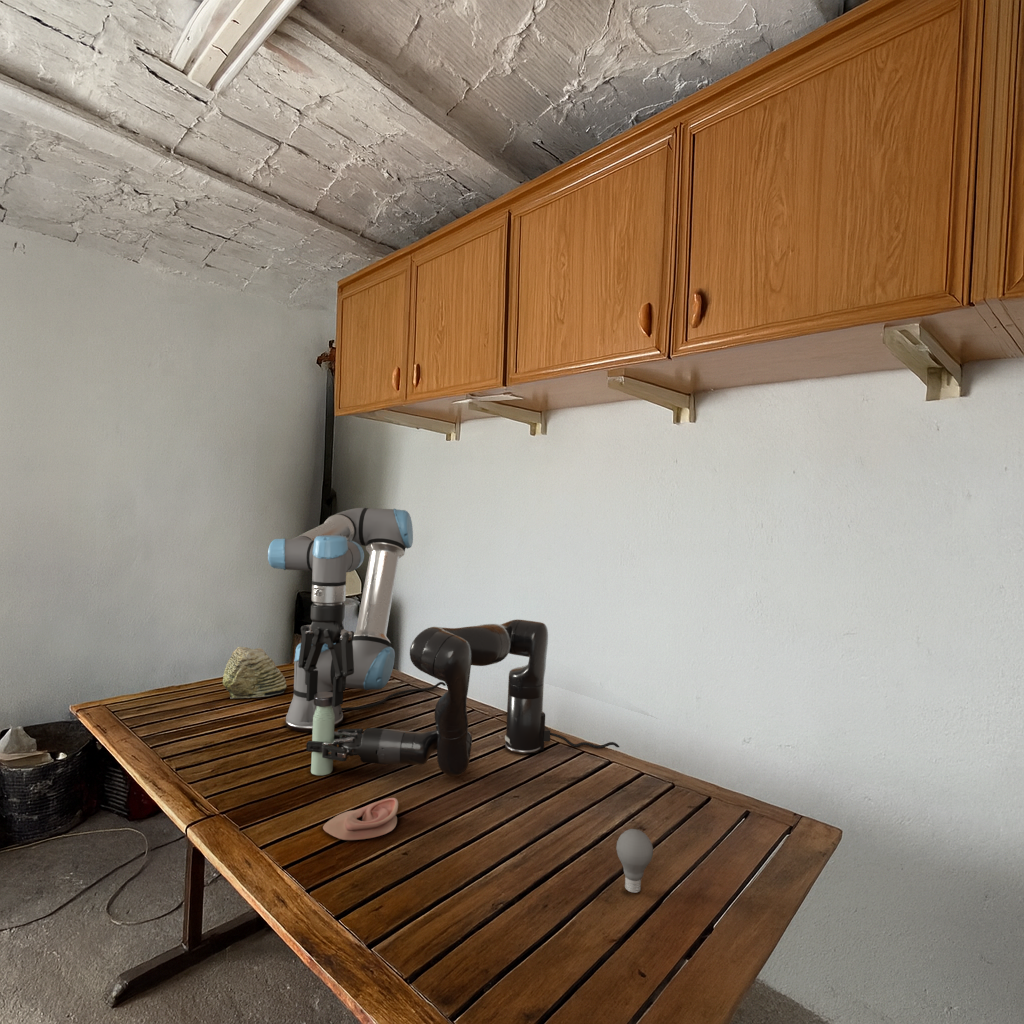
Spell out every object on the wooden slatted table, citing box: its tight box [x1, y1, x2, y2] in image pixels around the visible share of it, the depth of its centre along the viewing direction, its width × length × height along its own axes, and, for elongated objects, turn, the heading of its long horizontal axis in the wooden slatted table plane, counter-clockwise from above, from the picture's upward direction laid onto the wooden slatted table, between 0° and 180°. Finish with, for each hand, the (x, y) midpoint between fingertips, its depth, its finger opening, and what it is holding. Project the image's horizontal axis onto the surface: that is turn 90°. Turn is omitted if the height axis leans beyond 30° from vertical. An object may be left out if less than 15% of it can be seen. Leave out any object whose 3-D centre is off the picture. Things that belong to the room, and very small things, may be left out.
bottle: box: [310, 706, 335, 776], centre depth 146 cm, size 5×5×17 cm
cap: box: [314, 692, 333, 707], centre depth 146 cm, size 5×5×2 cm
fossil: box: [222, 646, 288, 699], centre depth 198 cm, size 9×18×15 cm, turn 132°
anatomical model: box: [322, 797, 399, 841], centre depth 122 cm, size 13×4×12 cm
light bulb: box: [615, 828, 654, 894], centre depth 106 cm, size 6×6×10 cm
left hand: (324, 702), depth 146 cm, fingers open, 7 cm apart
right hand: (311, 741), depth 146 cm, fingers closed on bottle, 4 cm apart
